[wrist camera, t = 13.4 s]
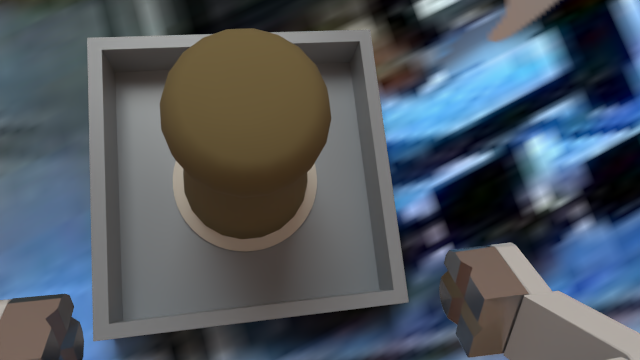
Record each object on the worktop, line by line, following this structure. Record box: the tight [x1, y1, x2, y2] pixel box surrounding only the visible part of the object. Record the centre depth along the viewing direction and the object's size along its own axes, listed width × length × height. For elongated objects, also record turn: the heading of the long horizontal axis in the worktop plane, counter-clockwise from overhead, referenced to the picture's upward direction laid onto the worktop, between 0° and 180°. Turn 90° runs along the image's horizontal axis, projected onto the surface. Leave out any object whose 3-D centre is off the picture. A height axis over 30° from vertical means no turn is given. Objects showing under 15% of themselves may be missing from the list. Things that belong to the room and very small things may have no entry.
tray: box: [87, 30, 409, 341], centre depth 24 cm, size 13×13×3 cm
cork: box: [160, 28, 331, 239], centre depth 19 cm, size 6×6×11 cm
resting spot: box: [173, 161, 317, 252], centre depth 25 cm, size 7×7×1 cm
